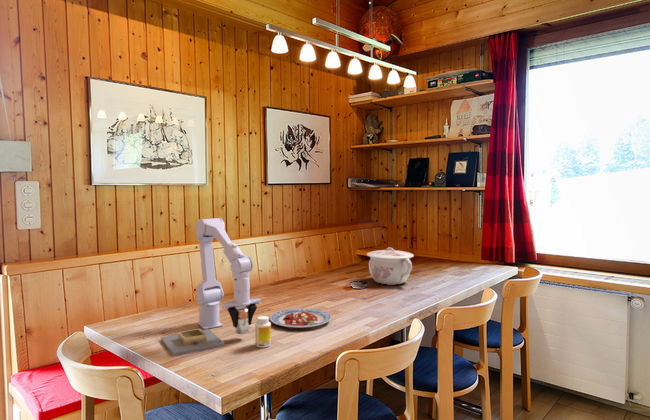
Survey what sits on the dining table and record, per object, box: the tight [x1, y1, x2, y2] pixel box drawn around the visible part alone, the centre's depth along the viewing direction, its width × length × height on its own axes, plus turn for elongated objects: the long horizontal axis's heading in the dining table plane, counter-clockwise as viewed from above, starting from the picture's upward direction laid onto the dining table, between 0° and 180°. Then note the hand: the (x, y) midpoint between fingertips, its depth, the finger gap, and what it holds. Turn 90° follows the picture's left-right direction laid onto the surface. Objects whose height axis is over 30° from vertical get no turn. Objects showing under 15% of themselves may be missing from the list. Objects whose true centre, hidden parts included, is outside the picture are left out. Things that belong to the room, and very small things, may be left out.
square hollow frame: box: [177, 328, 207, 346], centre depth 164 cm, size 11×8×2 cm
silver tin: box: [234, 306, 250, 335], centre depth 168 cm, size 5×5×9 cm
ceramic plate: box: [269, 307, 332, 329], centre depth 189 cm, size 26×26×3 cm
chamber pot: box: [366, 247, 415, 286], centre depth 260 cm, size 28×28×21 cm
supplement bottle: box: [254, 315, 272, 349], centre depth 161 cm, size 6×6×10 cm
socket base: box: [160, 328, 226, 357], centre depth 164 cm, size 18×18×1 cm
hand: (242, 325), depth 168 cm, fingers closed on silver tin, 5 cm apart
